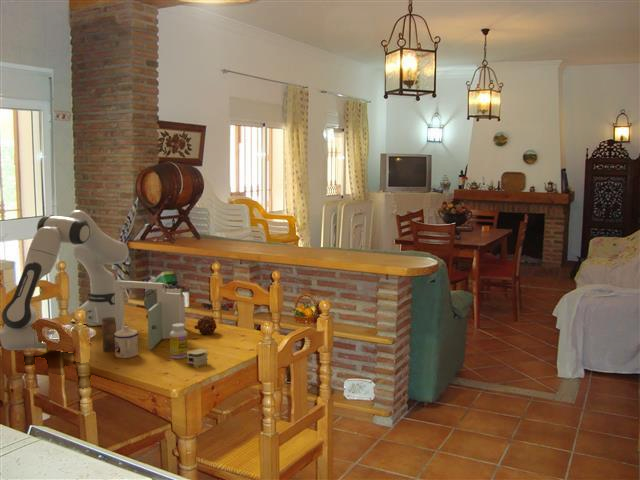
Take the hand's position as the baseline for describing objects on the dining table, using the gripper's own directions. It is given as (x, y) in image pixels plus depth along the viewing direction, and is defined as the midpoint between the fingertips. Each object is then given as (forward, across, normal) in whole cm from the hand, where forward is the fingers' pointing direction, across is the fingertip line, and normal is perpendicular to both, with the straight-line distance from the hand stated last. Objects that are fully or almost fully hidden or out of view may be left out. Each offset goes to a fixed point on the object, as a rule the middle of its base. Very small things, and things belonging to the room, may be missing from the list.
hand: (81, 334), depth 249 cm
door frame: (+25, +16, +7) cm, 31 cm away
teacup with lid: (+18, -10, +7) cm, 22 cm away
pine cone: (+50, +15, +7) cm, 53 cm away
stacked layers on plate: (+44, -27, +8) cm, 53 cm away
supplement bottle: (+38, -16, +7) cm, 42 cm away
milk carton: (+36, +24, +7) cm, 44 cm away
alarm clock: (+28, +50, +7) cm, 58 cm away
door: (+29, +3, +6) cm, 30 cm away
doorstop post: (+10, 0, +7) cm, 13 cm away
